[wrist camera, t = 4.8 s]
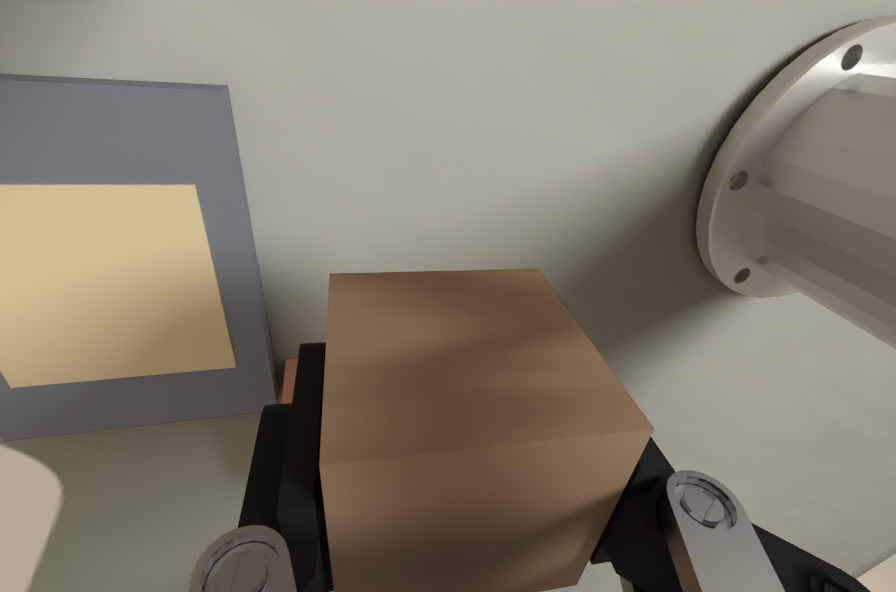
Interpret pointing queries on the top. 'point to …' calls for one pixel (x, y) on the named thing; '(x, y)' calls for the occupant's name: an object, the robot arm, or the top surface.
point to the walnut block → (467, 434)
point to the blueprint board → (125, 259)
